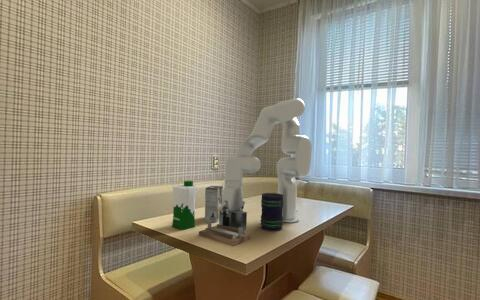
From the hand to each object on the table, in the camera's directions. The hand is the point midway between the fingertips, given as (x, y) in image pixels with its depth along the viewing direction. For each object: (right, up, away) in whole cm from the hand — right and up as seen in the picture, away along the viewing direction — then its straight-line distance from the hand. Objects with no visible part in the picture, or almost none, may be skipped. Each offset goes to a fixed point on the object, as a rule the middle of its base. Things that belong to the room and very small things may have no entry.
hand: (232, 223), depth 116 cm
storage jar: (+18, -3, +3) cm, 18 cm away
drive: (0, -2, 0) cm, 2 cm away
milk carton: (-22, -2, +1) cm, 22 cm away
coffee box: (-10, -2, +14) cm, 17 cm away
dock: (-3, -2, -11) cm, 12 cm away
